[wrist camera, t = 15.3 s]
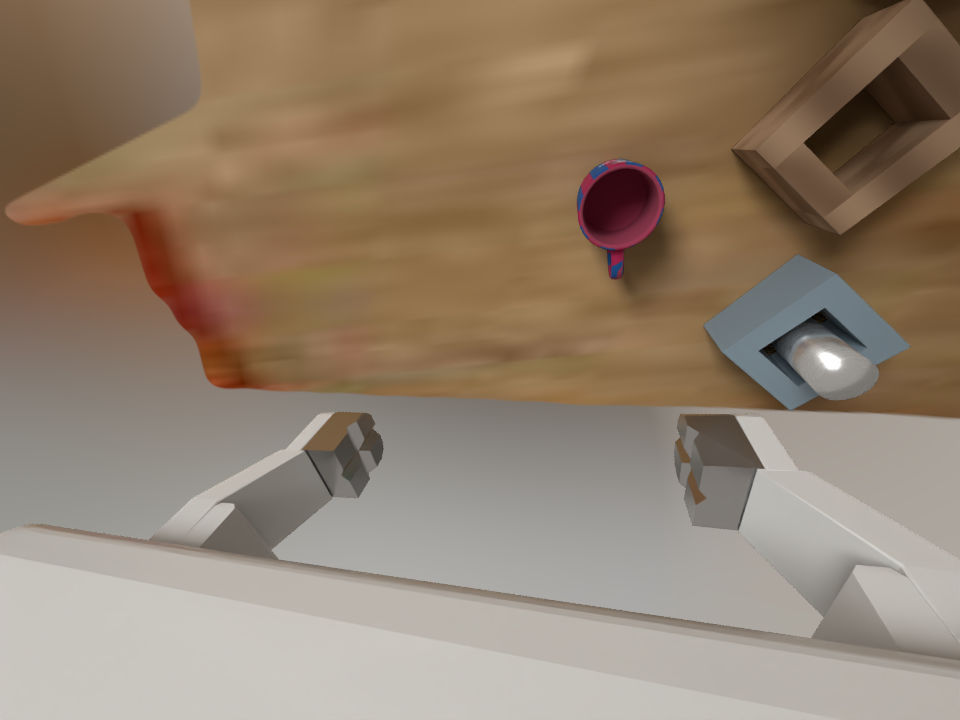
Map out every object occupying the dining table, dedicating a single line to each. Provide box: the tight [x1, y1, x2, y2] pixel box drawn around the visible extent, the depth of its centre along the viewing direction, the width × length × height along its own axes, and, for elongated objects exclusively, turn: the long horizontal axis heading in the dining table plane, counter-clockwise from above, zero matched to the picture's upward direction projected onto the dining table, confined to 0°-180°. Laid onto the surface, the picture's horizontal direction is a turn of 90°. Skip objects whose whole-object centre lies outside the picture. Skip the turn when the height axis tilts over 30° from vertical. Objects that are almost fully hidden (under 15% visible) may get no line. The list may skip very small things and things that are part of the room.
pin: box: [770, 317, 879, 400], centre depth 33 cm, size 4×4×11 cm
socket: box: [703, 254, 911, 411], centre depth 35 cm, size 10×10×6 cm
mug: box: [577, 159, 665, 279], centre depth 33 cm, size 7×10×7 cm
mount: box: [732, 0, 960, 235], centre depth 27 cm, size 10×10×5 cm
